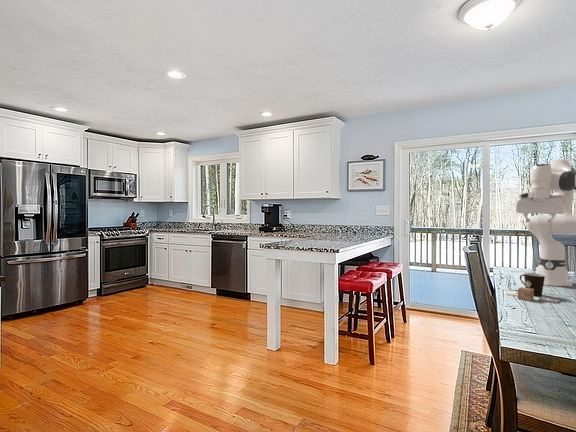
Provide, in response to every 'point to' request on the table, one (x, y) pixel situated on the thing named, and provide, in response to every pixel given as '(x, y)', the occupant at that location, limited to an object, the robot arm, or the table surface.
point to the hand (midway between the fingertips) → (538, 222)
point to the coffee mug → (534, 282)
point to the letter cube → (525, 294)
